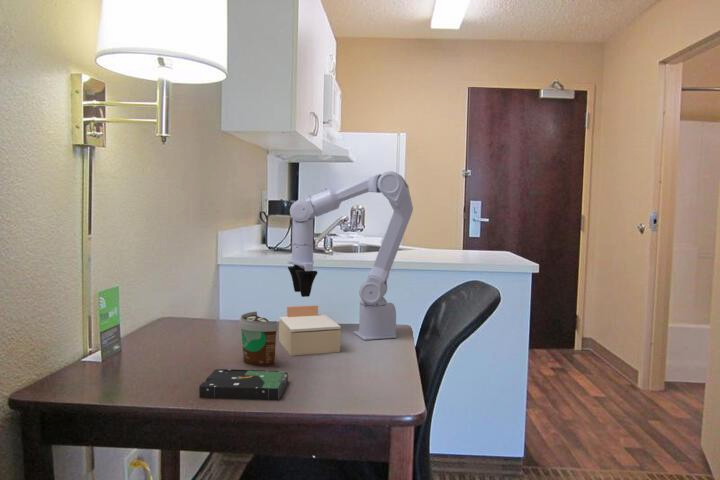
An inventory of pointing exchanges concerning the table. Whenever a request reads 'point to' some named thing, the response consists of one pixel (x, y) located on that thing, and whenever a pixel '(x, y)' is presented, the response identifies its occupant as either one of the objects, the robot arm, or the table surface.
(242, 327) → the food container
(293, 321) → the lid
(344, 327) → the table surface
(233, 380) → the disk drive
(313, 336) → the mailer box
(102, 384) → the table surface
